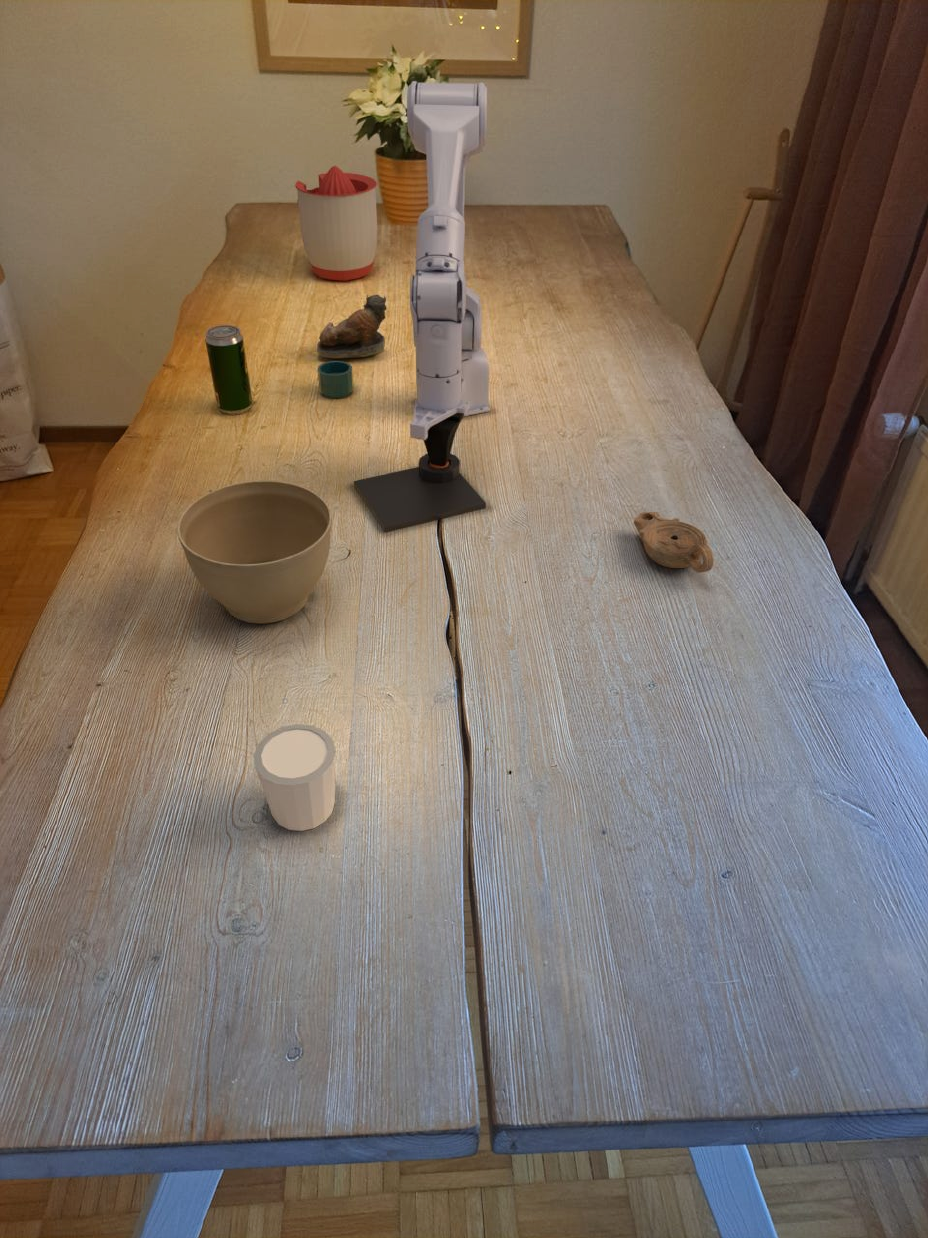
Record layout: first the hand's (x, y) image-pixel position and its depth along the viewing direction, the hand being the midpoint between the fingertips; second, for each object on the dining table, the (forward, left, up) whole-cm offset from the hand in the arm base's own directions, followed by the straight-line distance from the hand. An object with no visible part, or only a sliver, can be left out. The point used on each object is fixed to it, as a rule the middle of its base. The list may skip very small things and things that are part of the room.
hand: (439, 462), depth 123 cm
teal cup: (+4, -31, -2) cm, 31 cm away
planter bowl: (+28, +16, -2) cm, 33 cm away
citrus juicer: (-14, -83, -2) cm, 84 cm away
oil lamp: (-19, +28, -2) cm, 34 cm away
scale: (+4, +3, -2) cm, 6 cm away
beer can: (+20, -32, -2) cm, 38 cm away
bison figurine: (-3, -43, -2) cm, 43 cm away
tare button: (0, 0, -1) cm, 1 cm away
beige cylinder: (+33, +46, -2) cm, 57 cm away
